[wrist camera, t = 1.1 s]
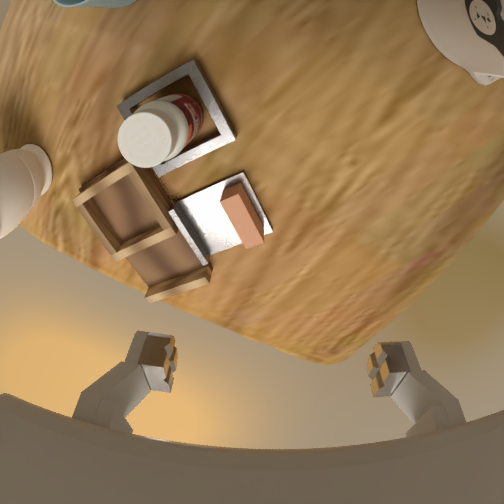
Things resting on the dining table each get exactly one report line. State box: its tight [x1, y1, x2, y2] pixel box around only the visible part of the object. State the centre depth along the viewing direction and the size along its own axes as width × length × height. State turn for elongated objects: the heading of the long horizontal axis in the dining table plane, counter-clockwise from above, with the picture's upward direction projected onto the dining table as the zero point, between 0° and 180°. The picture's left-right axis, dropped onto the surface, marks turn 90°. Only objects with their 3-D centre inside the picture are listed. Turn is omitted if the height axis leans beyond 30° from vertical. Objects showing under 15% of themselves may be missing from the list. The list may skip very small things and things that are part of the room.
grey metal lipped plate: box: [168, 171, 273, 266], centre depth 39 cm, size 10×9×3 cm
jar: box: [0, 144, 52, 239], centre depth 30 cm, size 11×10×15 cm
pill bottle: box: [118, 94, 203, 168], centre depth 28 cm, size 6×6×11 cm
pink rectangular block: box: [220, 182, 264, 249], centre depth 37 cm, size 2×7×4 cm, turn 25°
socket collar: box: [117, 60, 237, 178], centre depth 32 cm, size 10×10×2 cm
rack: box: [72, 158, 213, 303], centre depth 40 cm, size 11×20×4 cm, turn 25°
